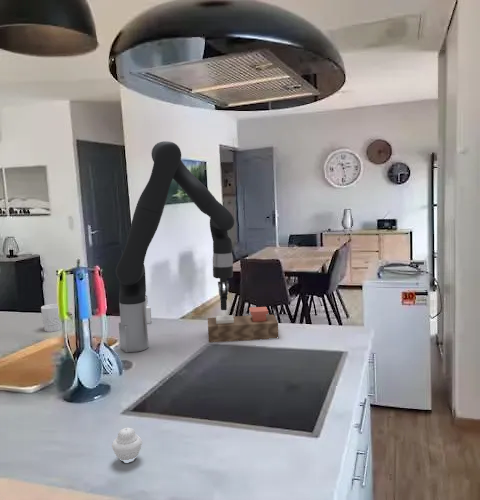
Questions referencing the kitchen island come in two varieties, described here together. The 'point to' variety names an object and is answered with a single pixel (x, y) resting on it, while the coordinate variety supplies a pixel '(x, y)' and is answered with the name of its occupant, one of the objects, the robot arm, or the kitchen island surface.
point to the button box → (242, 329)
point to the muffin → (127, 444)
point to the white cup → (50, 317)
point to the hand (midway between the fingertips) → (223, 309)
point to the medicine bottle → (148, 312)
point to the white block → (224, 319)
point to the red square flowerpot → (258, 313)
